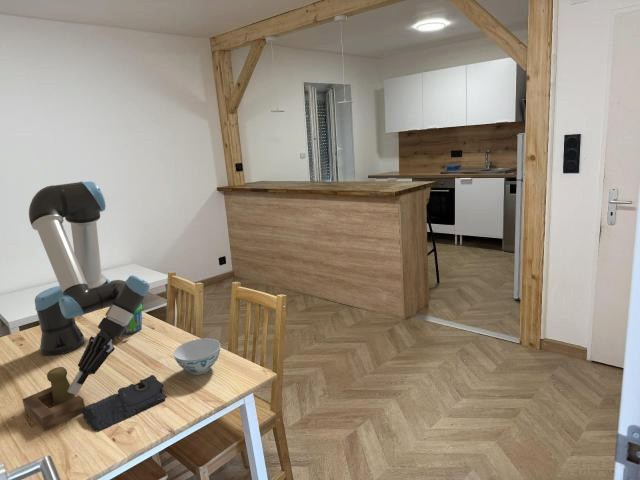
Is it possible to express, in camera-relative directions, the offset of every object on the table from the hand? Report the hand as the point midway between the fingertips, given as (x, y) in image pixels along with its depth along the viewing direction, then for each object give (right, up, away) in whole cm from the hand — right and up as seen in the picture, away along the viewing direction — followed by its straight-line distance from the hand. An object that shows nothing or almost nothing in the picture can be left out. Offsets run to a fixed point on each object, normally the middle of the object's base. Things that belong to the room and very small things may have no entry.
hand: (71, 393), depth 133 cm
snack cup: (-3, +8, +51) cm, 52 cm away
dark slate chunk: (+18, -3, -2) cm, 18 cm away
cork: (-2, -3, +1) cm, 4 cm away
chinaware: (+35, +3, +14) cm, 38 cm away
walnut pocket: (-3, -4, -3) cm, 6 cm away
